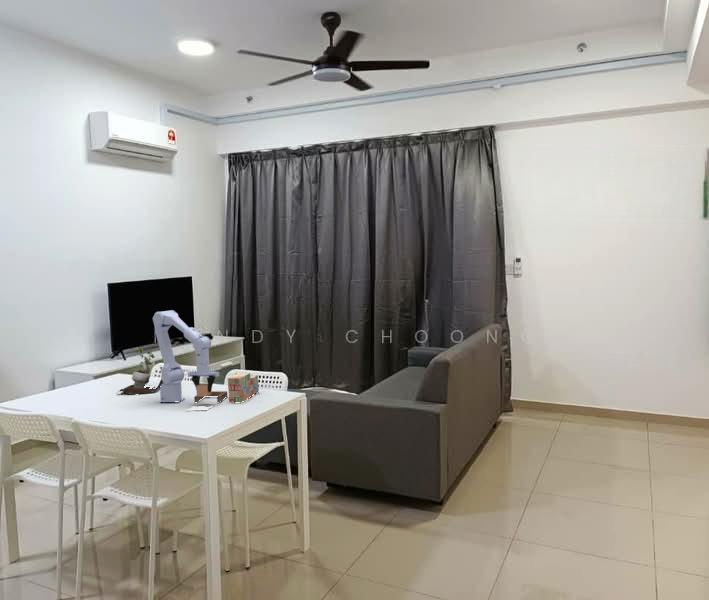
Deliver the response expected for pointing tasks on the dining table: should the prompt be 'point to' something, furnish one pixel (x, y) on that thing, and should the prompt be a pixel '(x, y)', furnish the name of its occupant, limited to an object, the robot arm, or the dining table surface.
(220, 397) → the cubby
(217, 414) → the dining table surface
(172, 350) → the robot arm
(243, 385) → the stack of blocks
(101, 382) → the dining table surface
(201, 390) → the cube
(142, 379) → the potted plant
